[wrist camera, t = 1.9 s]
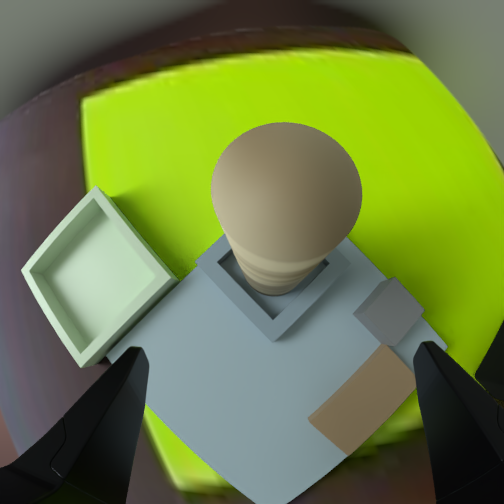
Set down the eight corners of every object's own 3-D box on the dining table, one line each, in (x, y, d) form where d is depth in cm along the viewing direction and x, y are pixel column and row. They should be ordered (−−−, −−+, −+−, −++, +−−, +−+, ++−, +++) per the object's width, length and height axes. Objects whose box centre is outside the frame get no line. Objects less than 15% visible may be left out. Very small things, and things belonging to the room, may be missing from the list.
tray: (97, 364, 21) (80, 368, 18) (38, 274, 22) (21, 270, 20) (180, 282, 22) (170, 277, 20) (109, 197, 24) (95, 185, 21)
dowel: (272, 309, 20) (288, 295, 7) (230, 265, 21) (180, 185, 8) (315, 266, 21) (389, 189, 8) (273, 224, 21) (284, 100, 9)
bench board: (270, 506, 18) (271, 532, 15) (113, 354, 21) (88, 358, 17) (439, 345, 20) (466, 348, 17) (287, 188, 23) (290, 165, 20)
